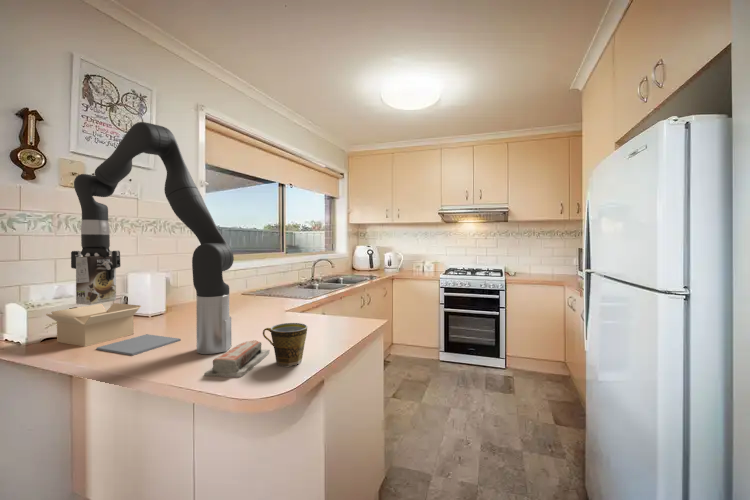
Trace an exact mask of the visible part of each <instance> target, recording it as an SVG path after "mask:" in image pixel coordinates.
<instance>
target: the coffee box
mask: <svg viewBox="0 0 750 500" xmlns="http://www.w3.org/2000/svg"><path fill="white" fill-rule="evenodd" d="M102 258H103V259H104V260H105V261H110V262H112V257H111V255H109V257H108V256H107V257H106V258H104V257H103V256H86V257H83V256H81V257H76V269H75V304H76V305H85V306H91V305H97V304H103V303H109V302H115V301H117V272H116V271H117V268H115V269H114V279H113V280H110V281H107V274H106V270H108V269H107V268H106V267H105V266H104V265H102Z"/></svg>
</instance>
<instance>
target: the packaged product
mask: <svg viewBox="0 0 750 500" xmlns="http://www.w3.org/2000/svg"><path fill="white" fill-rule="evenodd" d="M269 354H270V349H262V342H261V341H259V340H254V339H253V340H250V341H244V342H241V343H239V344H236V345H235V346H234V347H232V348H231V349H228V350H227V351H226V352H223V353H222V354H221V355H219V356H217V357H215V358H214V359H212V367H211V368H210V369H208V370H206V371H205V372H204V373H203V374H204V376H205V377H222V378H223V377H225V378H226V377H227V378H228V377H230V378H243V377H244V376H245V374H247V373H248V372H249V371H251V370H252V369H254V366H255V367H256V366H257V365H258V364H260V363H261V362H262V361H263V360H265V358H267V356H269Z"/></svg>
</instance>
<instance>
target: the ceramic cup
mask: <svg viewBox="0 0 750 500" xmlns="http://www.w3.org/2000/svg"><path fill="white" fill-rule="evenodd" d="M266 331H268V332H270V337H271V339H270V338H268V337H267V336H266V334H265V332H266ZM307 332H308V326H307V324H305V323H301V322H299V323H298V322H287V323H279V324H276V325H273V326H271V327H266V328H264V329H263V331H262V336H263V338H264V339H266V340H267V342H269V343H270V345H271V346H272V347H273V350H274V351H273V352H274V355H275V361H276V362H275V363H276V364H277V365H278V367H284V366H290V367H293V366H292V365H295V366H298V365H300V364H301V363H302V360H303V355H304V350H305V344H306V340H307V339H306V338H307ZM300 362H301V363H300ZM299 363H300V364H299ZM297 364H298V365H297Z"/></svg>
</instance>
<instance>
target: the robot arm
mask: <svg viewBox="0 0 750 500" xmlns="http://www.w3.org/2000/svg"><path fill="white" fill-rule="evenodd" d="M141 154H149V155H155V156H158V157H159V158H160V159H161V161H162V163H163V165H164V168H165V170H166V175H165V176H166V177H165V181H164V182H165V183H164V189H163V190H164V195H165V197H166V198H165V199H166V200H167V202H168V203H169V205H170V207H171V210H172V211H173V212H174V214H175V216H176V217H177V218H178V219H179V220H180V221H181V222H182V223H183V224H184V225H185V226H186V227H187V228H188V229H189V230H190V231H191V232H192V233H193V234H194V236H195V237H196V238H197V240H198V241H199V244H200V245H198V246H197V247H196V248H195V249H194V250H193V254H192V258H191V263H192V264H191V267H192V270H191V271H192V283H193V287H194V289H195V291H196V295H195V296H196V298H195V299H196V303H195V305H196V307H195V308H196V310H195V311H196V353H198V354H202V355H213V354H218V353H225V352H227V351H229V350H230V348H231V347H232V317H231V316H230V286H229V284H227V283H226V282H225V281H224V279H223V278H224V277H223V272H226V271H228V270H230V268H231V267H233V264H234V258H235V257H234V253H233V250H232V249H231V247H230V245H229V243H228V242H227V241H226V239H225V237H224V236H223V235H222V232H221V231H220V229H218V227H217V225H216V223H215V220H214V219H213V217H212V215H211V213H210V210H209V209H208V207H207V205H206V203H205V201H204V199H203V197H202V195H201V193H200V190H199V189H198V186H197V185H196V184H195V181H194V179H193V177H192V175H191V173H190V171H189V169H188V167H187V165H186V162H185V160H184V157H183V155H182V153H181V150H180V147H179V145H178V142H177V139H176V137H175V135H174V134H173V132H172V131H171V130H170V129H169V128H167V127H165V126H162V125H159V124H154V123H151V122H145V121H139V122H136V123H135V124H134V123H133V125H131V127H130V128H129V129H128V131H127V132H126V133H125V134H124V136H123V138H122V139H121V141H119V144H118V145H117V147H116V148H115V150H114V151H113V153H112V154H110V156H108V157H107V159H105V160H104V161H103V162H102V163H100V164H99V165H98V166H96V168H95V170H94V175H93V174H86V173H82V174H78V175H77V176H75V178H74V181H73V187H74V191H75V194H76V196H77V198H78V203H79V204H80V208H81V225H80V238H81V241H80V243H81V244H80V246H81V249H82V250H81V251H80V250H72V251H71V252H70V267H71V269H73V270H76V257H86V256H103V257H104V258H106V257H107V256H108V257H109V256H111V257H112V262H110V261H105V260H104V259H103V258H102V265H104V266H105V267H106V268H107V269H108V270H106V274H107V281H110V280H113V279H114V269H115V268H116V269H118V268H121V265H122V264H121V251H120V250H110V246H111V245H110V244H111V242H110V239H111V237H110V235H111V234H110V225H109V224H110V222H109V208H108V206H107V205H106V204H104V203H101V202H98V201H96V200H95V198H94V197H99V198H108V197H110V196H112V195H113V194H114V192H115V190H116V188H117V187H118V184H119V182H121V181H122V180H123V179H125V178H127V176H128V175H129V174H130V173H131V171H132V169H133V159H134V158H136V157H137V156H139V155H141Z"/></svg>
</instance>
